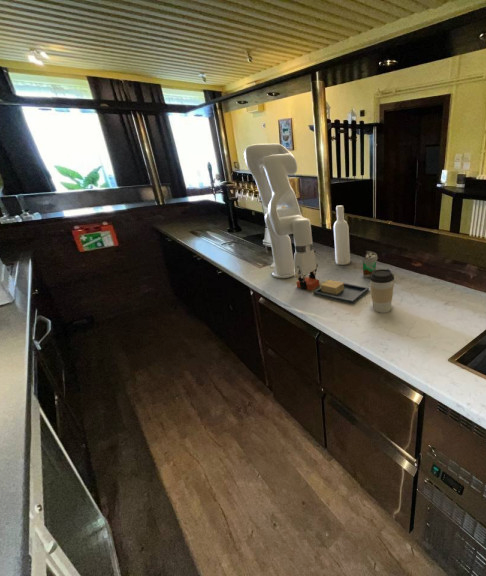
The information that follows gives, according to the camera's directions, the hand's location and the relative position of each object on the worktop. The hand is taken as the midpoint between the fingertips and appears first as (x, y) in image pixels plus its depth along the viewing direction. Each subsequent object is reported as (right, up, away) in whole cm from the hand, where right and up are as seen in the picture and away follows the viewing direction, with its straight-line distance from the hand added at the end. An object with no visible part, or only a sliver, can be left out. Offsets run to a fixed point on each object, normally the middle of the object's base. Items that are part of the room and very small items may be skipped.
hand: (308, 285), depth 135 cm
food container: (+29, +5, +10) cm, 31 cm away
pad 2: (+11, -2, -5) cm, 13 cm away
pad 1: (0, -1, 0) cm, 1 cm away
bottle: (+15, +13, +28) cm, 34 cm away
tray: (+15, -3, -7) cm, 17 cm away
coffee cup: (+31, -9, -20) cm, 38 cm away
